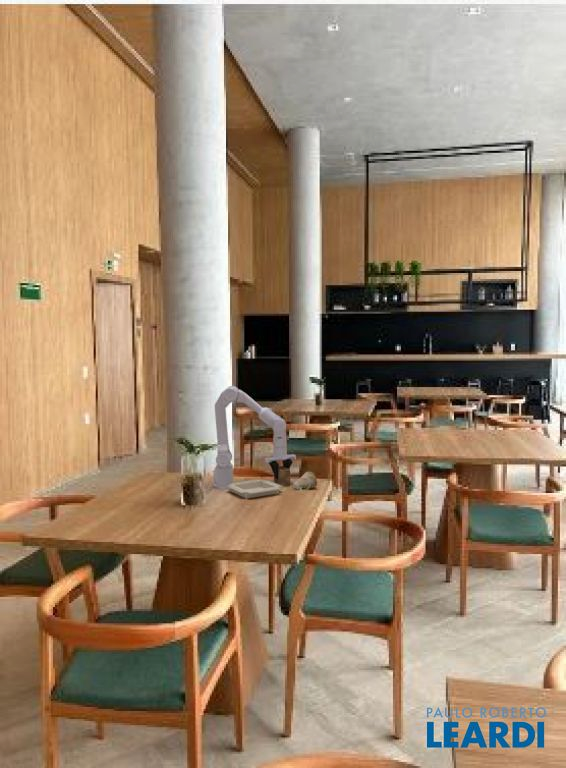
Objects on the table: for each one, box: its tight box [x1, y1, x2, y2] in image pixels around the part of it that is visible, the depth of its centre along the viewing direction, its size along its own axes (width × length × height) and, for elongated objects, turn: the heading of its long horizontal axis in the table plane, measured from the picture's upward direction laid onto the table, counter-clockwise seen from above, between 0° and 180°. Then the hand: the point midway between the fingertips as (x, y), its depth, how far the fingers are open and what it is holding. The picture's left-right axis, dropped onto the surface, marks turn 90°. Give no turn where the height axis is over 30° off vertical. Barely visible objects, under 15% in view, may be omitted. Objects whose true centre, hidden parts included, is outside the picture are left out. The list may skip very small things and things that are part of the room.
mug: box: [293, 471, 318, 492], centre depth 256 cm, size 8×10×10 cm
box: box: [273, 465, 291, 488], centre depth 263 cm, size 4×8×7 cm, turn 26°
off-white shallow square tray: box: [226, 478, 284, 500], centre depth 251 cm, size 21×19×3 cm
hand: (281, 477), depth 264 cm, fingers closed on box, 4 cm apart
